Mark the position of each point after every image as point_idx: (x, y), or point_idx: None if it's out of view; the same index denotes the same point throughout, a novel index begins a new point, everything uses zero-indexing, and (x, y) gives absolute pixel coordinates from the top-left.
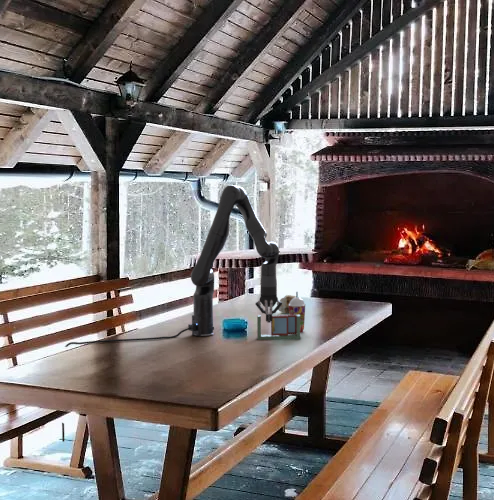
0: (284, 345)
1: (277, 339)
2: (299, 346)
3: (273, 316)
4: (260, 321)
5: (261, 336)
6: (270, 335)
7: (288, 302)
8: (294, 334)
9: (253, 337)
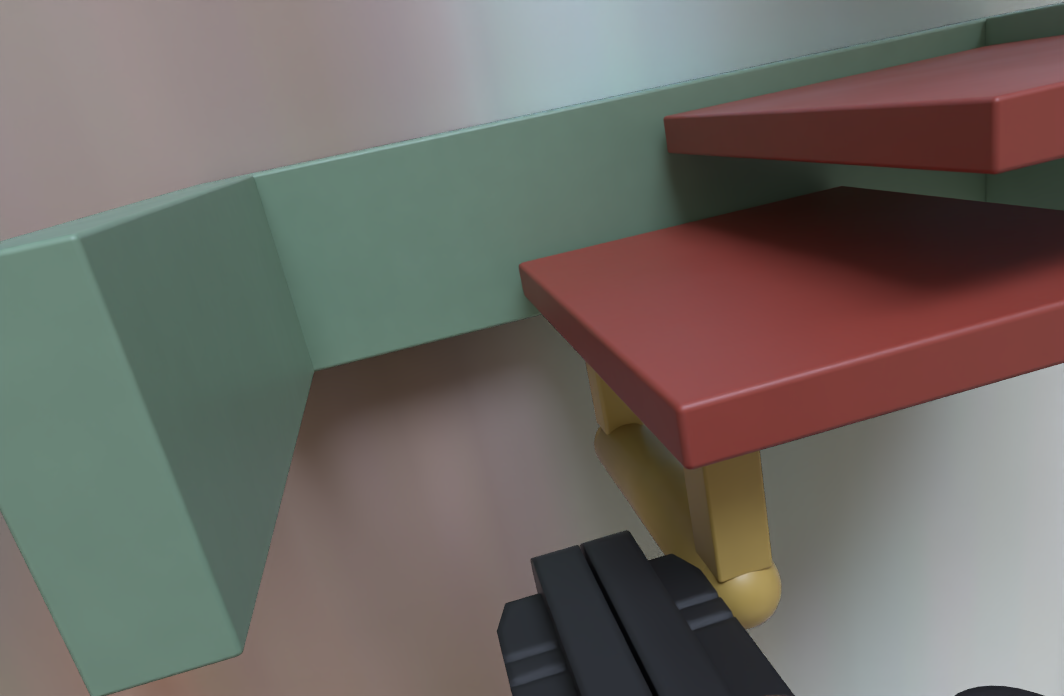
0: (782, 653)
1: None
2: (968, 652)
3: (773, 442)
4: (270, 540)
5: (330, 364)
6: (491, 224)
7: None
8: (944, 33)
9: (77, 146)
